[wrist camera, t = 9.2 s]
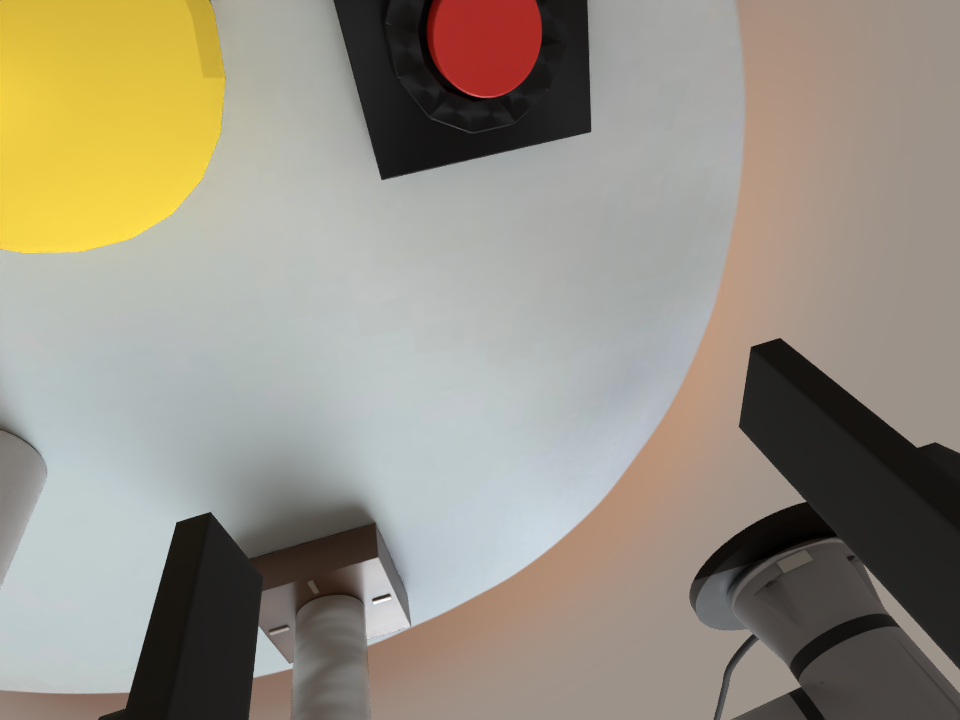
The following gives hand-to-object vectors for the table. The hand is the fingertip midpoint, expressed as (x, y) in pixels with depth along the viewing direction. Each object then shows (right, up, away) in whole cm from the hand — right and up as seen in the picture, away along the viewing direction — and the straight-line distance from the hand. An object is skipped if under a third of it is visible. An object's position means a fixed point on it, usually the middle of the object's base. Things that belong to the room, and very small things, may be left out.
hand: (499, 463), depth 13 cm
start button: (-1, +15, +7) cm, 17 cm away
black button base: (-1, +17, +10) cm, 20 cm away
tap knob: (-12, -17, +27) cm, 34 cm away
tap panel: (-12, -15, +30) cm, 35 cm away
